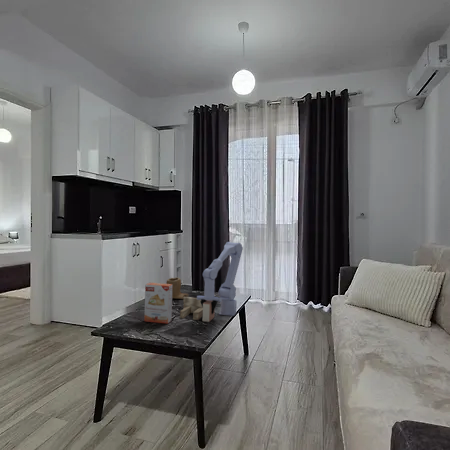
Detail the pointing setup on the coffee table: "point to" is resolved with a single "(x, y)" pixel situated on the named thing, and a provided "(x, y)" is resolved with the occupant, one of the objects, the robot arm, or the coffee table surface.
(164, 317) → the cracker box
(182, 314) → the book rack
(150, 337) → the coffee table surface
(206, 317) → the book
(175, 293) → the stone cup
